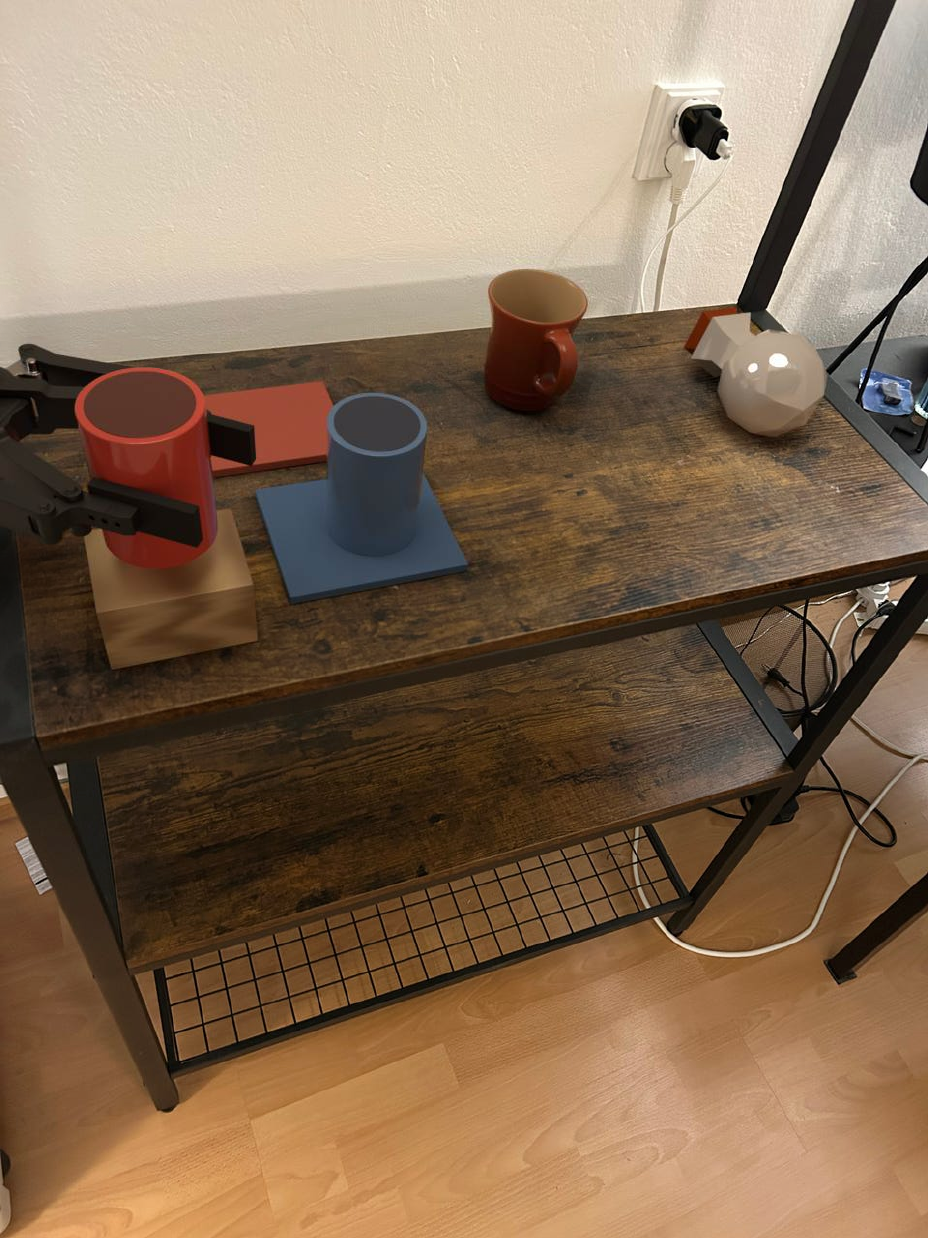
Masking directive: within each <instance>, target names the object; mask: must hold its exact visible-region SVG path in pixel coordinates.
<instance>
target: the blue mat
mask: <svg viewBox="0 0 928 1238" xmlns="http://www.w3.org/2000/svg"><path fill="white" fill-rule="evenodd" d="M254 494H255V500H256V503H257V507H258V509H259V511H260V514H261V518H262V521H263V524H264V527H265V530H266V533H267V536H268V539H269V540H268V541H269V543H270V546H271V549H272V552H273V554H274V558H275V561H276V564H277V567H278V571H279V573H280V574H279V575H280V577H281V579H282V583H283V586H284V589H285V592H286V594H287V598H288V601H289V604H290V605H295V604H301V603H306V602H310V601H317V600H320V599H321V600H322V599H326V598H332V597H337V596H342V595H348V594H352V593H357V592H363V591H369V590H374V589H379V588H383V587H388V586H395V585H400V584H405V583H410V582H411V583H412V582H415V581H420V580H427V579H431V578H437V577H442V576H447V575H452V574H458V573H462V572H467V571H468V567H469V563H468V561H467V558H466V556H465V555H464V553H463V550H462V548H461V546H460V544H459V543H458V541H457V539H456V537H455V534H454V532H453V531H452V528H451V526H450V524H449V522H448V520H447V518H446V516H445V514H444V512H443V510H442V507H441V506H440V504H439V502H438V499H437V497H436V495H435V493H434V491H433V489H432V487H431V485H430V483H429V481H428V479H427V476H426V475H425V473H424V472H423V476H422V486H421V495H420V505H419V515H418V525H417V531H416V534H415V537H414V538H413V540H412V541H411V542H410V544H408V545H407V546H406V547H405V548H403V549H402V550H400V551H398V552H395V553H393V554H389V555H385V556H364V555H359V554H355V553H352V552H349V551H347V550H345V549H344V548H342V547H340V546H339V545H338V544H337V543H336V542H335V541H334V540H333V539H332V538H331V536H330V535H329V533H328V531H327V527H326V478H324V479H318V480H317V479H316V480H311V481H305V482H298V483H292V484H285V485H279V486H272V487H264V488H259V489H255V490H254Z"/></svg>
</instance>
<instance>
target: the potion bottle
mask: <svg viewBox="0 0 928 1238" xmlns="http://www.w3.org/2000/svg"><path fill="white" fill-rule="evenodd" d="M751 331H752V312H743V313H738V312H737V307H736V306H735V307H727V308H720V309H719V308H718V309H710V310H709V309H708V310H702V312H701V314H700V316H699V317H698V319H697V321H696V324H695V325H694V327H693V329H692V331H691V333H690V335H689V336H688V338H687V340H686V342H685V344H684V346H683V350H686V352H688V353H689V354H691V357H690V360H692V361H693V362H695V363H696V364H697V365H698V366H700V367H701V368H702V369H703V370H705V371H706V372H707V373H708V374H710V375H711V376H712V377H713V378H717V377H719V376H720V379H719V382H718V386H717V393H718V397H719V398H720V401H721V403H722V406H723V409H724V411H725V413H726V416H727V418H729V419H730V420H731V421H732V422H734V423H735V424H736V425H738V426H739V427H741V428H742V429H743V430H745V431H746V432H748V433H751V434H754V435H760V436H765V437H772V438H776V437H779V436H781V435H784V434H786V433H788V432H791V431H793V430H796V429H798V428H800V427H802V426H805V425H806V424H807V423H808V422H809V420H810V418H812V415H813V414H814V413H815V412H816V410H817V408H818V407H819V405H820V403H821V401H822V400H823V398H824V395H825V390H826V386H827V382H828V377H829V376H828V374H827V370H826V367H825V365H824V363H823V360H822V358H821V356H820V354H819V353H818V351H817V349H815V347H814V346H813V345H811V343H810V342H808V340H807V339H805V338H804V337H803V336H802V334H796V333H790V332H786V331H781V330H775V329H770V328H768V329H766V330H764V331H762V332H760V333H758V334H756V335H755V334H754V333H753V332H751Z"/></svg>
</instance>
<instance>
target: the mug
mask: <svg viewBox="0 0 928 1238" xmlns="http://www.w3.org/2000/svg"><path fill="white" fill-rule="evenodd" d="M487 295H488V301H489V306H490V307H489V308H490V313H491V327H490V334H489V336H488V337H489V338H488V342H487V348H486V354H485V361H484V364H483V371H484V388H485V390H486V392H487V394H488V395H489V397H490V398H491V399H492V400H493V401H495V402H496V403H498V404H499V405H501V406H502V407H505V408H507V409H510V410H513V411H516V412H535V411H539V410H543V409H545V408H548V407H549V406H550V405H551V404H553V403H554V402H555V400H556V399H557V397H562V396H564V395H565V394H566V393H567V392H568V391H569V390H570V389H571V387H572V385H573V383H574V381H575V378H576V374H577V370H578V365H579V352H578V349H577V346H576V343H575V342H574V340H573V335H574V333H575V331H576V330H577V327H578V325H579V323H580V322H581V321H582V319H583V317H584V315H585V314H586V312H587V310H588V305H589V302H588V301H589V300H588V298H587V295H586V294H585V292H584V290H583V289H582V288H581V287H580V286H579V285H577V284H576V283H575V282H574V281H573V280H571V279H569V278H567V277H565V276H563V275H561V274H557V273H555V272H552V271H547V270H542V269H535V268H521V269H520V268H518V269H512V270H507V271H505V272H502V273H500V274H498V275H497V276H495V277H494V278H493V279H492V280H491V281H490V283H489V285H488V289H487Z"/></svg>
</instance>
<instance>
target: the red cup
mask: <svg viewBox="0 0 928 1238" xmlns="http://www.w3.org/2000/svg"><path fill="white" fill-rule="evenodd" d="M204 395H205V394H204V393H203V391H202V390H201V388H200V387H199V386H198V385H197V384H196V383H195V382H194V381H192V379H190V378H189V377H187V376H184V375H182V374H180V373H178V372H175V371H172V370H167V369H165V368H164V369H163V368H157V367H135V368H129V369H123V370H118V371H115V372H111V373H108V374H106V375H103V376H101V377H99V378H97V379H95V380H94V381H92V382H91V383H89V384H88V385H87V386H86V387H85V388H84V389H83V390H82V391H81V392H80V394H79V395H78V397H77V400H76V402H75V416H76V420H77V424H78V429H77V430H78V433H79V437H80V441H81V446H82V450H83V455H84V459H85V463H86V467H87V472H88V476H89V481H90V480H91V479H92V478H93V477H96V478H100V479H103V480H107V481H111V482H114V483H117V484H121V485H125V486H129V487H133V488H136V489H140V490H144V491H147V492H151V493H155V494H158V495H162V496H166V497H169V498H173V499H176V500H180V501H184V502H187V503H191V504H195V505H198V506H199V509H200V517H201V526H202V534H203V541H202V542H201V544H200V545H199V547H198V548H196V547H193V546H189V545H185V544H182V543H178V542H174V541H171V540H167V539H164V538H160V537H156V536H153V535H149V534H146V533H142V532H137V533H136V534H135V535H121V534H118V533H116V532H115V533H114V532H111V531H109V530H108V531H107V530H103V529H102V533H103V538H104V541H105V544H106V546H107V547H108V549H109V550H110V551H111V552H112V553H113V554H114V555H115V556H116V557H117V558H119V559H120V560H122V561H124V562H126V563H128V564H130V565H133V566H137V567H141V568H148V569H164V568H172V567H176V566H180V565H183V564H186V563H188V562H191V561H193V560H195V559H196V558H198V557H200V556H201V555H202V554H204V553H205V552H206V551H207V550H208V549H209V548H210V547H211V545H212V544H213V542H214V541H215V539H216V536H217V533H218V518H217V510H218V509H217V499H216V492H215V489H216V488H215V481H214V478H213V470H212V461H211V451H210V442H209V432H208V423H207V413H206V404H205V398H204Z"/></svg>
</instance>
